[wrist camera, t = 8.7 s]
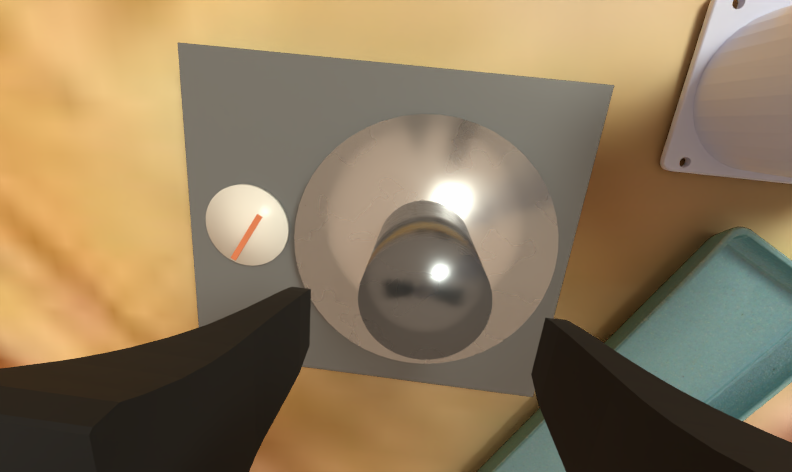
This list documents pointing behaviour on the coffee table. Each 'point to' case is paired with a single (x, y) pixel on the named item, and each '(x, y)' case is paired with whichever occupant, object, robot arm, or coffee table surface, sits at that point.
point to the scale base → (317, 137)
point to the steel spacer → (425, 284)
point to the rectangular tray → (697, 339)
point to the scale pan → (433, 181)
